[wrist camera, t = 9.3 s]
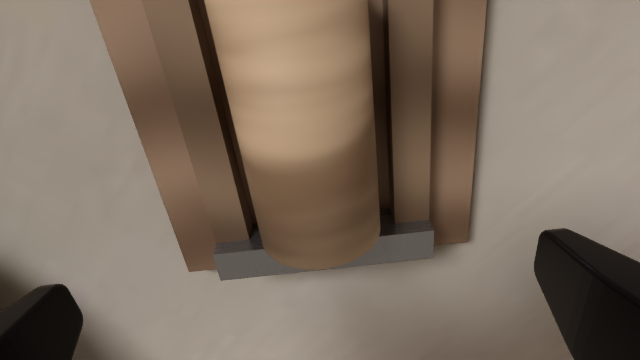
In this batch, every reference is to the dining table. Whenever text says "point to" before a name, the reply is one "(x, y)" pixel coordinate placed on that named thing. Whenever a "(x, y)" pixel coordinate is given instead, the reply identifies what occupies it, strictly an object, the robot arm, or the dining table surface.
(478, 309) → the dining table surface
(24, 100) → the dining table surface
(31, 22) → the dining table surface
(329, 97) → the tan wooden cylinder
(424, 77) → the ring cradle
